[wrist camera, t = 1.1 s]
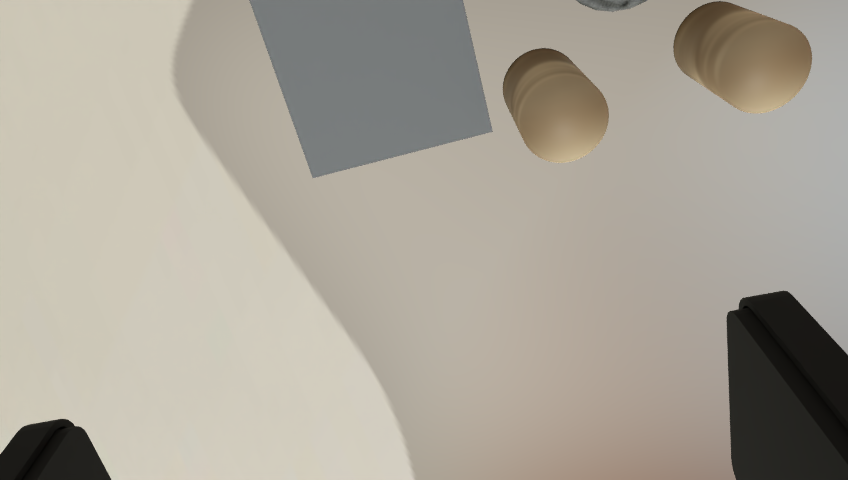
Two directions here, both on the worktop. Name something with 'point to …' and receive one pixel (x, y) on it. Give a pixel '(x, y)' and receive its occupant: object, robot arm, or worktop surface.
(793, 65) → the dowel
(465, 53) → the coaster
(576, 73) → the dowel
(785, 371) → the robot arm
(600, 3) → the salt shaker
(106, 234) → the worktop surface
